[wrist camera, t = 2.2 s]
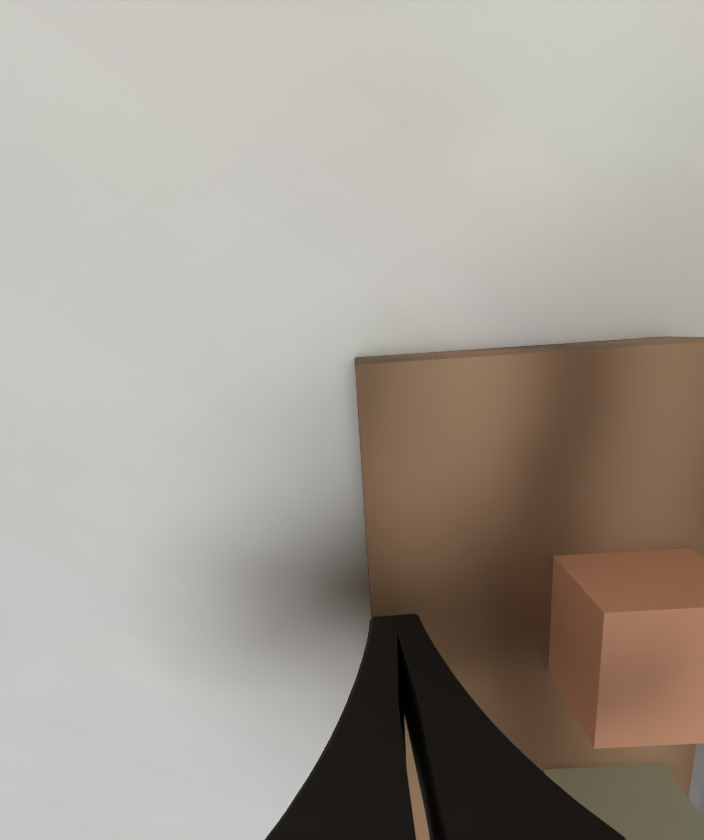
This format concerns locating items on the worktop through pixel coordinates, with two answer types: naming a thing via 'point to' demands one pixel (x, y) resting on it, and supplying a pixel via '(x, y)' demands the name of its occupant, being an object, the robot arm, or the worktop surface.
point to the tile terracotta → (631, 645)
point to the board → (525, 509)
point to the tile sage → (634, 800)
